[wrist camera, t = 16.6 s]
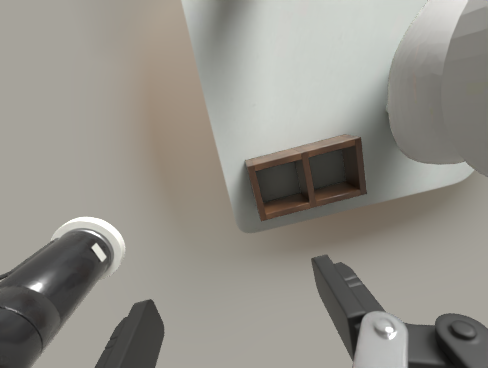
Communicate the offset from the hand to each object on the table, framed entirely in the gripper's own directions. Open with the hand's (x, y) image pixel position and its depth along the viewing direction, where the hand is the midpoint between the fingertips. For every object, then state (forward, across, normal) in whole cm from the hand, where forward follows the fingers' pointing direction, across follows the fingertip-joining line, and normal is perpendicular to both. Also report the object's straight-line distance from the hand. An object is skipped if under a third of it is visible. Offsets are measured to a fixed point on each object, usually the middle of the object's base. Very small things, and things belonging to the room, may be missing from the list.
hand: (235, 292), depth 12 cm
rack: (+30, -11, +4) cm, 32 cm away
